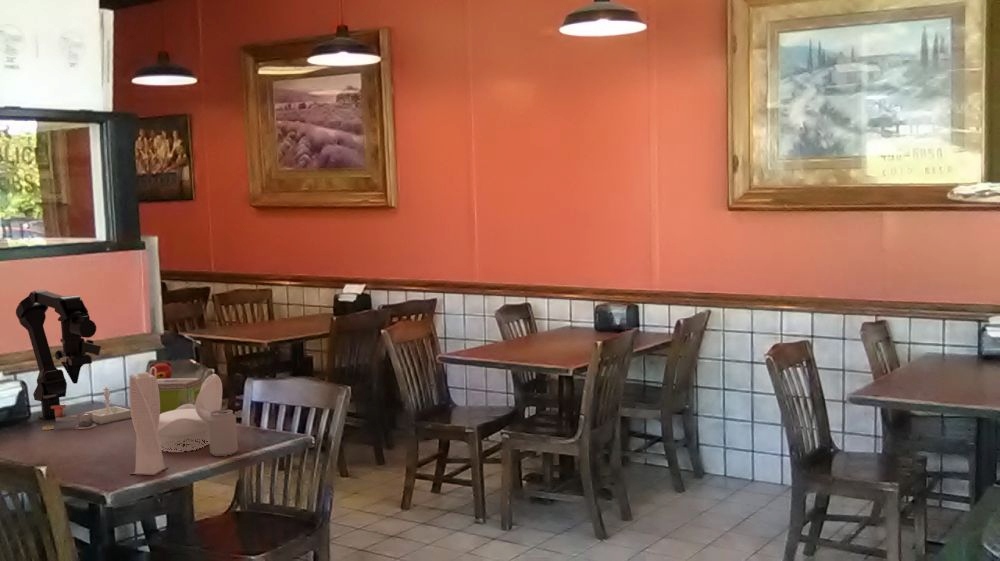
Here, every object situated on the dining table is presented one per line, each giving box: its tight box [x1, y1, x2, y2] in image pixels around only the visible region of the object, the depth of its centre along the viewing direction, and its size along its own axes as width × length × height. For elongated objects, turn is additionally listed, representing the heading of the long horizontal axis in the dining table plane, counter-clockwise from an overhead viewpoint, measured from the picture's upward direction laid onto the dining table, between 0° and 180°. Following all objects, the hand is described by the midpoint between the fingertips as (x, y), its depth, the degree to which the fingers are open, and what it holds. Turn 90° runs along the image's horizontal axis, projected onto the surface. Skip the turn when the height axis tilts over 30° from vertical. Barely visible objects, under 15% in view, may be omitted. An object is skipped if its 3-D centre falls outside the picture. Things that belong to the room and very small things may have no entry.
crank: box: [51, 404, 94, 426], centre depth 328 cm, size 12×4×7 cm, turn 92°
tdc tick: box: [41, 425, 54, 431], centre depth 327 cm, size 3×1×1 cm, turn 97°
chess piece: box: [101, 386, 112, 416], centre depth 339 cm, size 5×5×10 cm
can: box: [208, 409, 239, 457], centre depth 288 cm, size 8×8×12 cm
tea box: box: [157, 377, 203, 414], centre depth 323 cm, size 15×10×15 cm, turn 80°
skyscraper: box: [128, 367, 169, 476], centre depth 271 cm, size 8×8×28 cm
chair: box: [157, 373, 223, 453], centre depth 299 cm, size 20×20×20 cm
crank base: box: [74, 422, 98, 430], centre depth 329 cm, size 6×6×1 cm
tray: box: [84, 405, 132, 425], centre depth 339 cm, size 11×11×2 cm
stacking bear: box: [149, 362, 173, 379], centre depth 338 cm, size 11×10×18 cm
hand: (75, 383), depth 334 cm, fingers closed
